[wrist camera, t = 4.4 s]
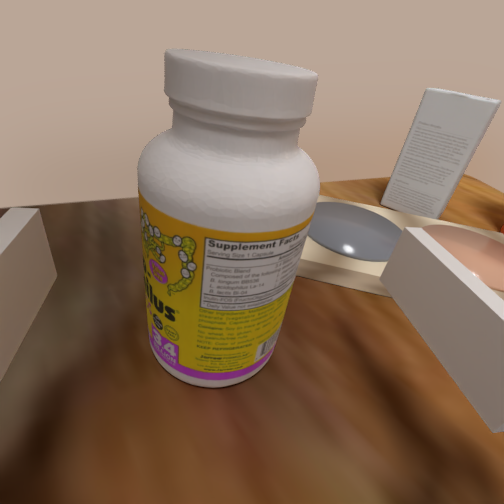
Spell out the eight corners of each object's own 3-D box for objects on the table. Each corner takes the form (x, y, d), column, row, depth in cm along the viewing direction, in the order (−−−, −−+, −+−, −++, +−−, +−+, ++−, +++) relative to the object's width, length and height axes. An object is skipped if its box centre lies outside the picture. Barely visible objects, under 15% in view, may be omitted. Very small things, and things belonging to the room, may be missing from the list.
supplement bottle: (149, 298, 18) (132, 37, 11) (255, 290, 20) (301, 63, 13) (148, 407, 13) (117, 52, 6) (292, 383, 15) (400, 92, 8)
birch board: (281, 272, 22) (286, 255, 21) (294, 203, 32) (297, 190, 31) (574, 339, 21) (591, 324, 20) (493, 246, 31) (502, 233, 30)
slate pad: (294, 245, 23) (295, 242, 22) (301, 197, 30) (302, 194, 30) (419, 273, 22) (421, 270, 22) (395, 216, 29) (396, 214, 29)
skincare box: (441, 215, 35) (504, 100, 29) (432, 226, 32) (500, 102, 26) (390, 195, 38) (436, 87, 31) (377, 204, 35) (425, 87, 29)
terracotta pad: (434, 276, 22) (436, 273, 22) (406, 219, 29) (407, 216, 29) (568, 306, 21) (571, 303, 21) (504, 240, 29) (506, 237, 28)
